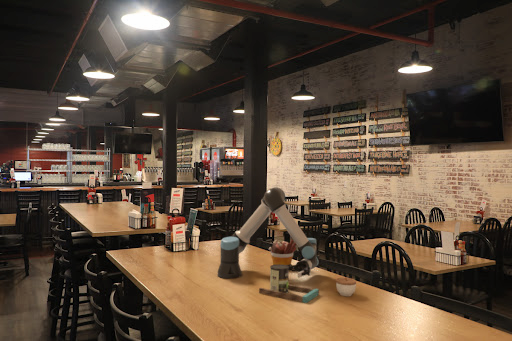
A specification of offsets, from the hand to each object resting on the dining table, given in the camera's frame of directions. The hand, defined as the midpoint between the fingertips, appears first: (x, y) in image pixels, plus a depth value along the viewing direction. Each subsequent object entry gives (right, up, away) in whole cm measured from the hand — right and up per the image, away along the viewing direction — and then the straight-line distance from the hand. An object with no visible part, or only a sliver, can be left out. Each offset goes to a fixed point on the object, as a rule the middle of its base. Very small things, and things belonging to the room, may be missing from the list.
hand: (287, 273), depth 224 cm
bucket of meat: (0, -8, +48) cm, 48 cm away
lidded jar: (+31, -9, -11) cm, 34 cm away
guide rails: (0, -8, -11) cm, 14 cm away
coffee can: (-5, -8, -8) cm, 13 cm away
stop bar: (+11, -8, -18) cm, 23 cm away
